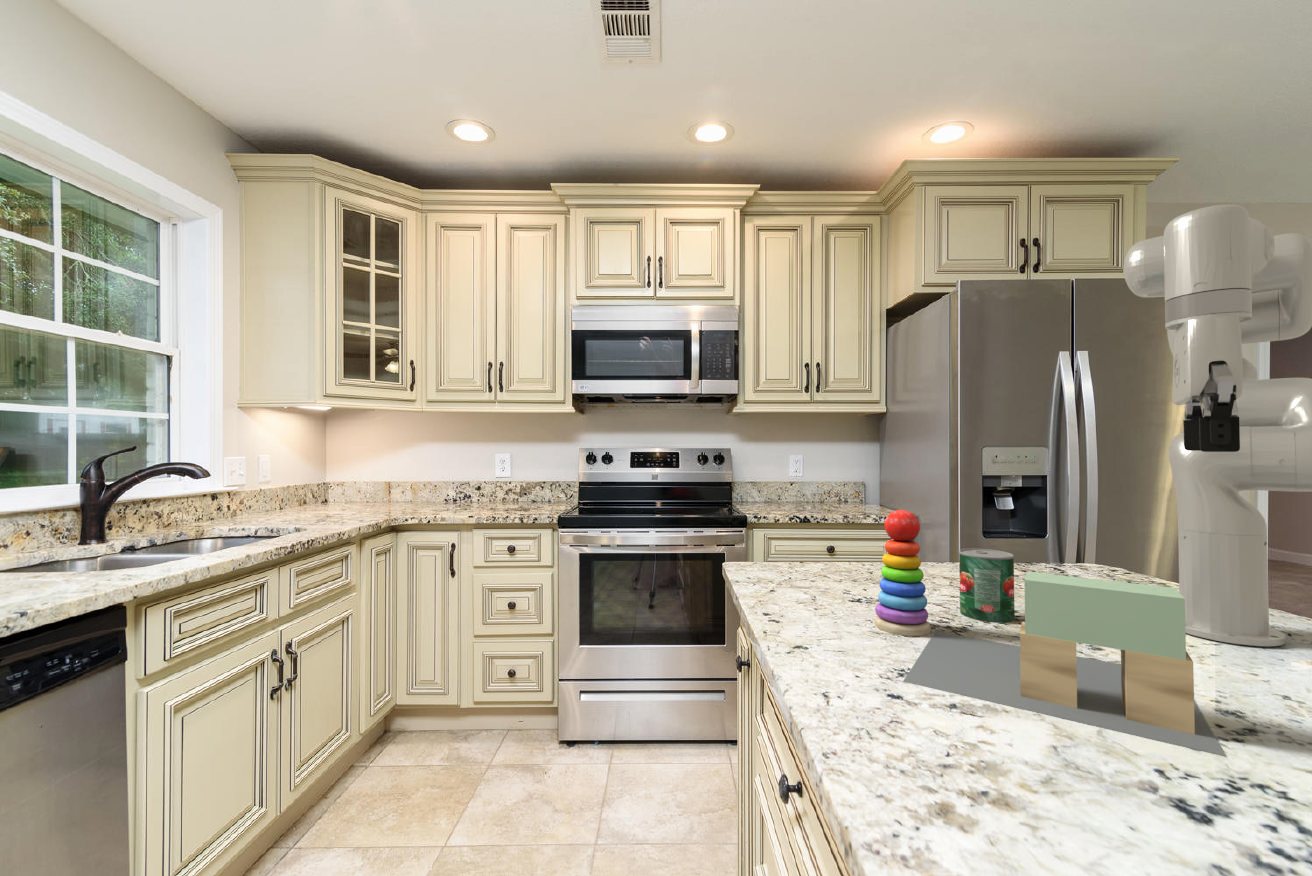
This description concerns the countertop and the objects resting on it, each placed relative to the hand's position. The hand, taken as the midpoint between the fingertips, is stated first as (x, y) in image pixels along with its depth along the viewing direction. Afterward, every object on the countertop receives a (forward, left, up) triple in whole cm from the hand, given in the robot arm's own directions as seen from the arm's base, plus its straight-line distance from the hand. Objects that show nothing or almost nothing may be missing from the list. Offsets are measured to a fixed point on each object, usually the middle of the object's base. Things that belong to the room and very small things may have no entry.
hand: (1209, 451), depth 67 cm
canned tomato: (-12, -25, -28) cm, 40 cm away
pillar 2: (+18, -7, -27) cm, 34 cm away
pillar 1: (+18, -16, -27) cm, 37 cm away
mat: (+13, -17, -28) cm, 35 cm away
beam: (+18, -12, -20) cm, 30 cm away
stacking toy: (+3, -35, -28) cm, 45 cm away
